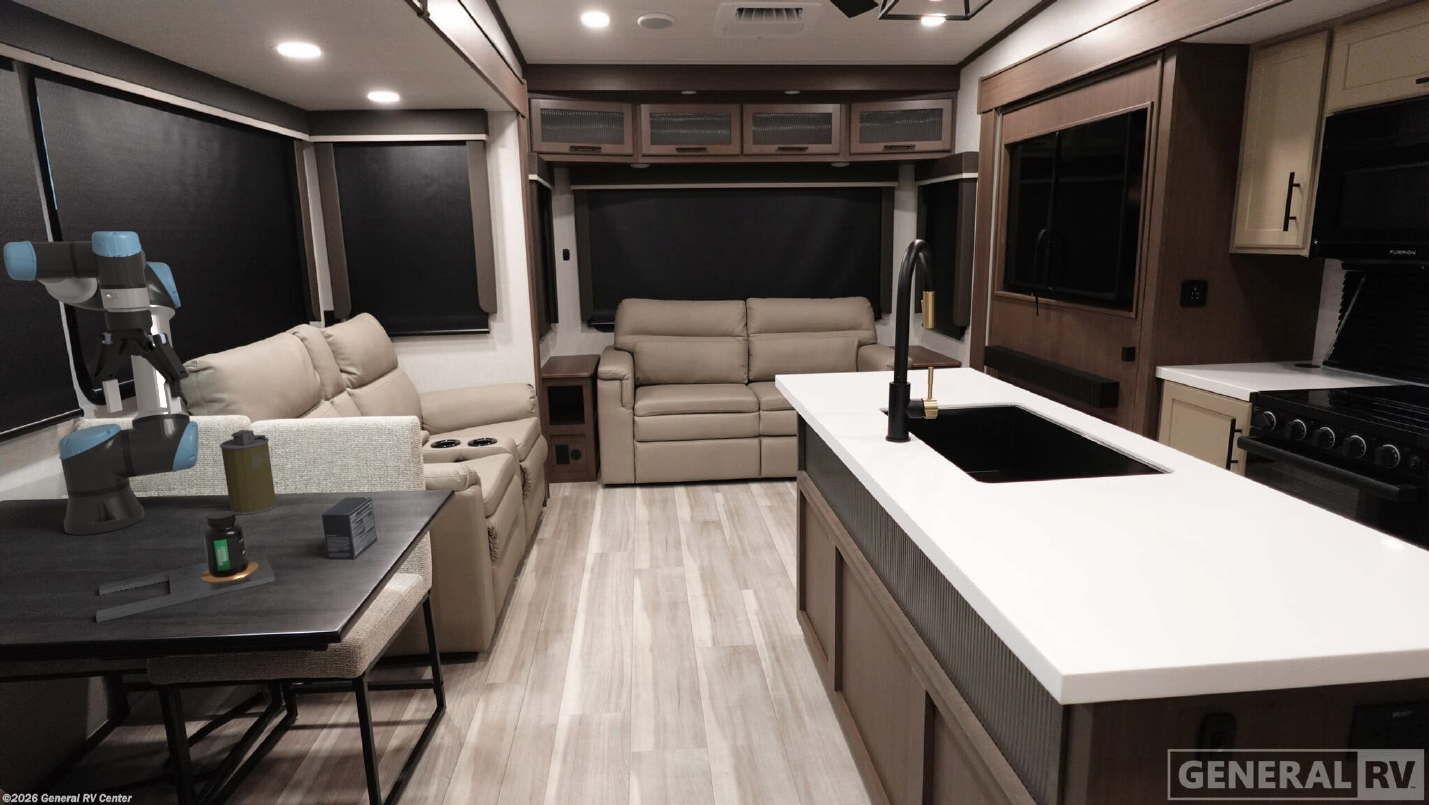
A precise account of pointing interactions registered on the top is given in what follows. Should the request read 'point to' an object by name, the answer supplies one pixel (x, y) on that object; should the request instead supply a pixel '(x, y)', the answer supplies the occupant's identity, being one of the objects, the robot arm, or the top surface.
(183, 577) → the rail plate
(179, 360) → the robot arm
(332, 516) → the small box
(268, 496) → the canister
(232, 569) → the supplement bottle
